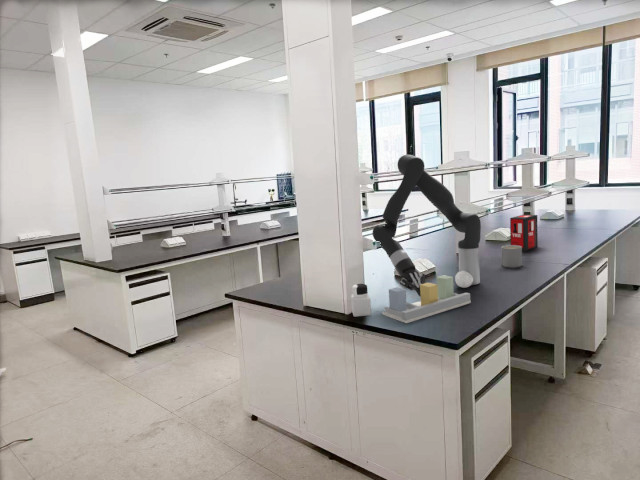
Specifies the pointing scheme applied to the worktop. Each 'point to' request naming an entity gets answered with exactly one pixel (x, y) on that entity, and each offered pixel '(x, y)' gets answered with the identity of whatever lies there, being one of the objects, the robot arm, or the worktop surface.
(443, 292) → the pale green block
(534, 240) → the cleaning product box
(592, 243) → the worktop surface
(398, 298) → the blue-grey block
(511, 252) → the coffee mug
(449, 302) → the white divided tray
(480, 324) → the worktop surface
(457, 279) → the crumpled paper ball
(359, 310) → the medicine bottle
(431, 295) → the yellow rectangular block
